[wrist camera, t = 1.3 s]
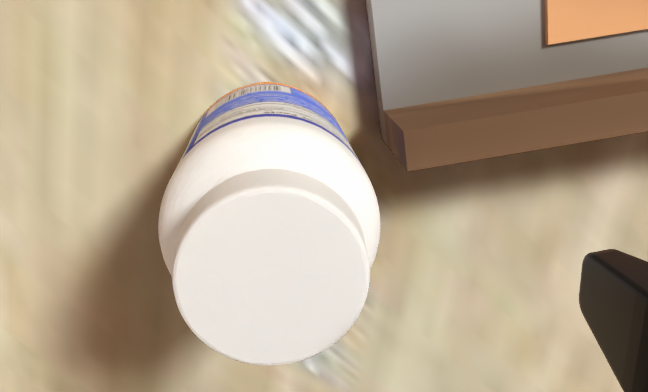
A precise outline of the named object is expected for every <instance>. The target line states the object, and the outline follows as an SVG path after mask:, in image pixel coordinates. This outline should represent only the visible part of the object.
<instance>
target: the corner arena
mask: <svg viewBox="0 0 648 392" xmlns="http://www.w3.org/2000/svg"><path fill="white" fill-rule="evenodd" d="M366 5H367V13H368V22H369V31H370V40H371V48H372V57H373V66H374V75H375V83H376V92H377V101H378V110H379V118H380V127H381V136H382V139H383V141H384V142H385V143H386V145H387V146H388V147H389V148H390V150H391V151H392V152H393V154H394V155H395V156H396V157H397V159H398V160H399V161H400V162H401V164H402V165H403V166H404V168H405V169H406V170H407V171H414V170H420V169H426V168H432V167H438V166H444V165H450V164H456V163H462V162H468V161H474V160H480V159H486V158H492V157H497V156H503V155H509V154H515V153H521V152H527V151H533V150H539V149H545V148H551V147H557V146H563V145H569V144H575V143H581V142H587V141H593V140H599V139H605V138H611V137H617V136H623V135H629V134H635V133H641V132H647V131H648V0H366Z"/></svg>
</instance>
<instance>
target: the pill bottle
mask: <svg viewBox="0 0 648 392" xmlns="http://www.w3.org/2000/svg"><path fill="white" fill-rule="evenodd" d="M380 226H381V225H380V212H379V207H378V202H377V197H376V194H375V191H374V189H373V186H372V184H371V182H370V180H369V178H368V176H367V174H366V172H365V170H364V168H363V166H362V165H361V163H360V161H359V159H358V158H357V156H356V154H355V152H354V151H353V149H352V148H351V146H350V144H349V142H348V140H347V139H346V137H345V135H344V133H343V132H342V130H341V128H340V126H339V124H338V123H337V121H336V119H335V118H334V117H333V115H332V114H331V113H330V112H329V111H328V109H327V108H326V107H325V106H324V105H323V104H321V103H320V102H319V101H318V100H317V99H315V98H314V97H313V96H311V95H310V94H308V93H306V92H304V91H303V90H300V89H298V88H296V87H293V86H290V85H286V84H281V83H273V82H261V83H254V84H249V85H245V86H242V87H239V88H237V89H235V90H233V91H231V92H229V93H227V94H226V95H224V96H223V97H221V98H220V99H219V100H217V101H216V102H215V103H214V104H213V105H212V106H211V107H210V108H209V109H208V110H207V111H206V113H205V114H204V115H203V117H202V118H201V120H200V121H199V123H198V125H197V127H196V128H195V130H194V133H193V135H192V137H191V139H190V141H189V144H188V146H187V148H186V150H185V152H184V154H183V156H182V158H181V159H180V161H179V163H178V165H177V167H176V169H175V171H174V173H173V175H172V177H171V179H170V181H169V183H168V185H167V187H166V190H165V193H164V195H163V199H162V203H161V207H160V212H159V222H158V232H159V242H160V247H161V251H162V255H163V258H164V261H165V264H166V266H167V268H168V270H169V272H170V274H171V276H172V286H173V292H174V297H175V301H176V304H177V307H178V310H179V311H180V314H181V316H182V318H183V319H184V321H185V322H186V324H187V325H188V327H189V328H190V329H191V331H192V332H193V333H194V334H195V335H196V336H197V337H198V338H199V339H200V340H201V341H202V342H203V343H205V344H206V345H207V346H209V347H210V348H211V349H213V350H215V351H216V352H218V353H220V354H222V355H224V356H226V357H228V358H231V359H234V360H236V361H240V362H243V363H248V364H254V365H284V364H290V363H294V362H298V361H302V360H305V359H308V358H310V357H313V356H315V355H317V354H319V353H321V352H323V351H324V350H326V349H328V348H329V347H330V346H331V345H333V344H335V343H336V342H337V341H338V340H339V339H340V338H342V337H343V336H344V335H345V334H346V333H347V331H348V330H349V329H350V328H351V327H352V325H353V324H354V323H355V321H356V320H357V318H358V316H359V315H360V313H361V311H362V309H363V307H364V303H365V300H366V297H367V294H368V290H369V282H370V269H371V267H372V264H373V262H374V260H375V256H376V253H377V249H378V245H379V239H380Z"/></svg>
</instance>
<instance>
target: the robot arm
mask: <svg viewBox="0 0 648 392" xmlns="http://www.w3.org/2000/svg"><path fill="white" fill-rule="evenodd" d="M579 304H580V308H581V311H582V313H583V316H584V318H585V319H586V321H587V323H588V325H589V327H590V329H591V331H592V333H593V334H594V336H595V338H596V340H597V342H598V344H599V346H600V348H601V350H602V351H603V353H604V355H605V357H606V359H607V361H608V363H609V365H610V367H611V368H612V370H613V372H614V374H615V376H616V378H617V380H618V382H619V384H620V385H621V387H622V389H623V391H624V392H648V262H646V261H644V260H641V259H639V258H636V257H634V256H631V255H628V254H626V253H623V252H621V251H618V250H615V249H608V250H603V251H598V252H592V253H589V254H587V255H586V256H585V258H584V260H583V264H582V273H581V283H580V292H579Z"/></svg>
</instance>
